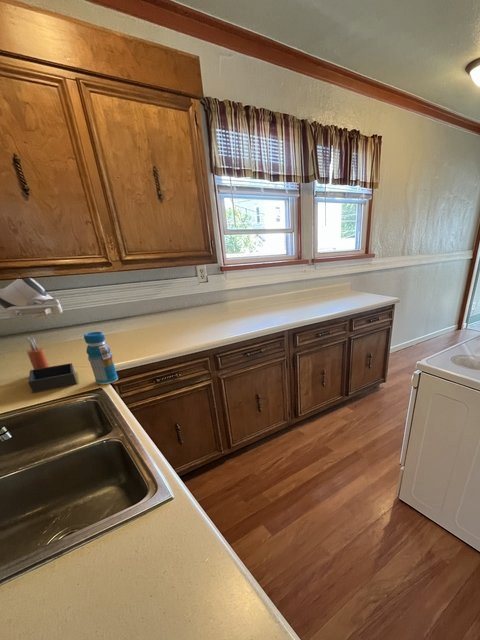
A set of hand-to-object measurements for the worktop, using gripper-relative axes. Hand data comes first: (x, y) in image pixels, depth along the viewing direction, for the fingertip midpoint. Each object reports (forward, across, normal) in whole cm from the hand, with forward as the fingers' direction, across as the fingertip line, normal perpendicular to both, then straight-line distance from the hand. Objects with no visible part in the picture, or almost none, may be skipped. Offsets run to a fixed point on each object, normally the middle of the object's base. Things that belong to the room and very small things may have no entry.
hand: (31, 313), depth 141 cm
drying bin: (+24, +6, +24) cm, 35 cm away
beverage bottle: (+32, +26, +24) cm, 48 cm away
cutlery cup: (+12, 0, +24) cm, 27 cm away
